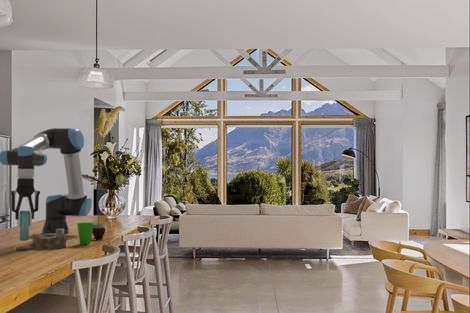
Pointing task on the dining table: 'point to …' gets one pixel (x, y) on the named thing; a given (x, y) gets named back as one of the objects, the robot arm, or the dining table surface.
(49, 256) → the dining table surface
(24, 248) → the coaster
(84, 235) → the cup
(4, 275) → the dining table surface
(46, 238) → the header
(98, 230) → the mate gourd
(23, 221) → the teal tall cylinder
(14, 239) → the dining table surface
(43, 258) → the dining table surface
